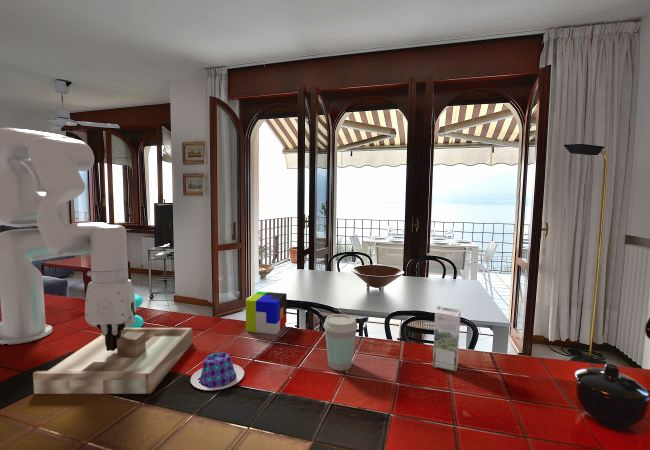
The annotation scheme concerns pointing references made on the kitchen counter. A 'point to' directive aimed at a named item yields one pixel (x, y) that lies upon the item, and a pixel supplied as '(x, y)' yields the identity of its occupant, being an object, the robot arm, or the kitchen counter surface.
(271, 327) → the puzzle toy
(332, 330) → the coffee cup
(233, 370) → the pudding
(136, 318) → the donuts
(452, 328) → the syrup box
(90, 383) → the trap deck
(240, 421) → the kitchen counter surface
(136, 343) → the walnut block
